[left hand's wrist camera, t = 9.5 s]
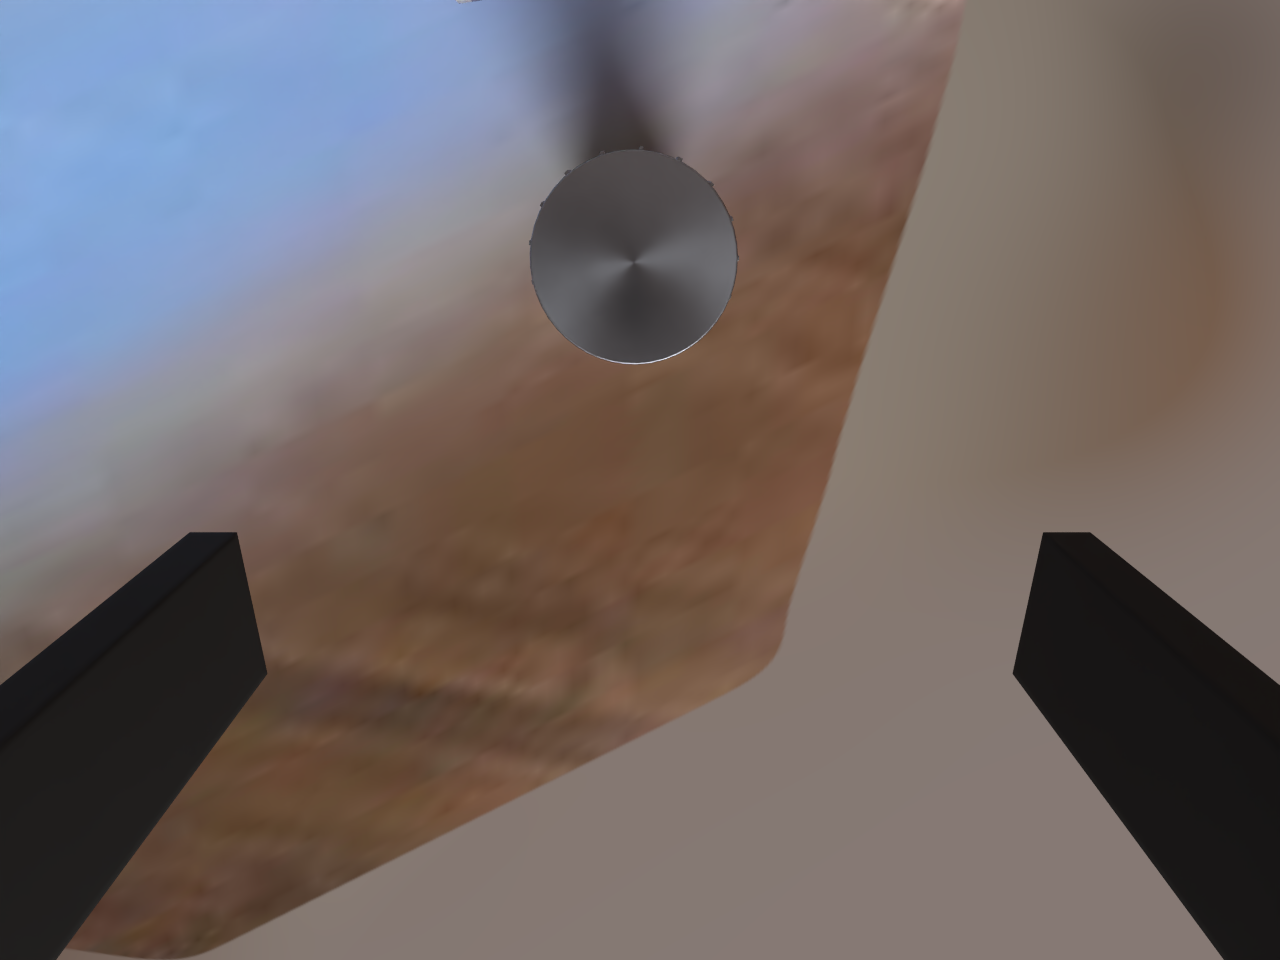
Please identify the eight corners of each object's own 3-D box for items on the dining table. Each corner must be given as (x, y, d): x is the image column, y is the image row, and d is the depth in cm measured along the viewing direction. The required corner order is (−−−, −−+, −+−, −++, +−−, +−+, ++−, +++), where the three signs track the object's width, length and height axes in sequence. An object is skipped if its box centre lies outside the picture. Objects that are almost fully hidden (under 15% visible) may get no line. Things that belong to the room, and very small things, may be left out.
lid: (764, 192, 20) (775, 194, 18) (690, 379, 21) (694, 395, 20) (571, 115, 19) (565, 111, 17) (511, 315, 21) (501, 327, 19)
